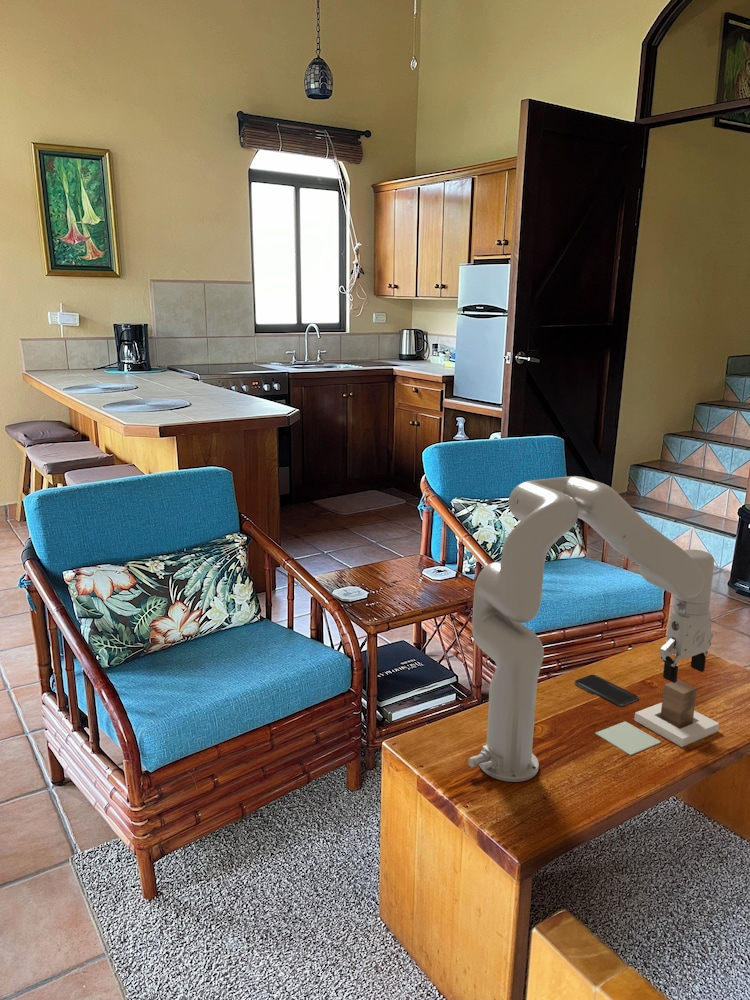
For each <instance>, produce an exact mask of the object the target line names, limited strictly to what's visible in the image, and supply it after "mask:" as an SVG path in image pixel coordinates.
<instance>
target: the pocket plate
mask: <svg viewBox="0 0 750 1000" xmlns="http://www.w3.org/2000/svg"><path fill="white" fill-rule="evenodd" d="M661 708H662V702H659V703H657V704H654V705H652V706H648V707H646V708H643V709H641V710H638V711H635V712H634V718H633V719H634V721H635V722H636V723H638V724H640V725H642V726H644V727H645V728H647V729H648V730H651V731H653V732H654V733H656V734H657V735H659V736H661V737H663V738H664V739H666V740H668V741H670V742H672V743H673V744H675V745H677V746H679V747H680V748H683V747H685V746H686V747H687V746H688V745H690V744H692V743H695V742H698V741H700V740H702V739H705V738H706V737H709V736H711V735H713V734H716V733H718V732H719V731H720V730H719V729H720V723H719V722H718V721H715V720H714V719H712V718H710V717H708V716H706V715H704V714H702V713H700V712H698V711H696V710H694V716H693V724H691V725H688V726H686V727H683V728H681V729H679V728H677V727H675V726H674V725H672V724H670V723H668V722H666V721H664V720H662V719H661V718H660V717H661Z"/></svg>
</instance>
